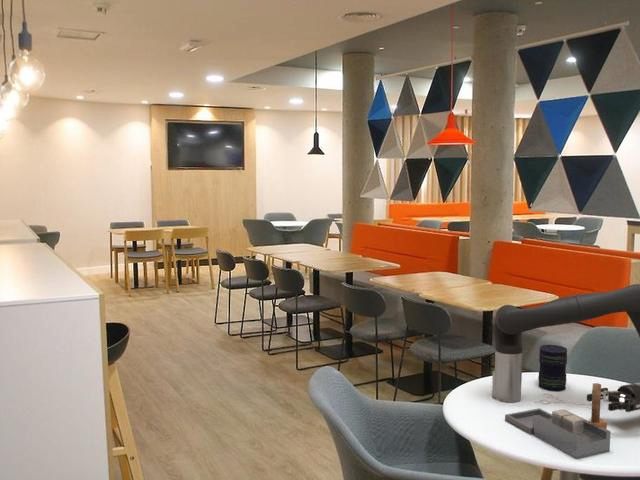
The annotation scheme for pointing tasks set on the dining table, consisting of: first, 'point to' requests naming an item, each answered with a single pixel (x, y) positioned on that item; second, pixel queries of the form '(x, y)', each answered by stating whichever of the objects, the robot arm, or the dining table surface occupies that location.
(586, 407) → the scissors
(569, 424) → the chip
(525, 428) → the tray
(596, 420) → the wooden post on base
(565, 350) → the storage jar
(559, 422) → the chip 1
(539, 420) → the slot board
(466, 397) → the dining table surface
